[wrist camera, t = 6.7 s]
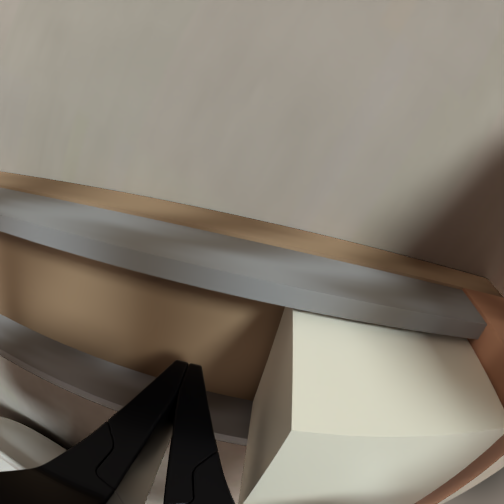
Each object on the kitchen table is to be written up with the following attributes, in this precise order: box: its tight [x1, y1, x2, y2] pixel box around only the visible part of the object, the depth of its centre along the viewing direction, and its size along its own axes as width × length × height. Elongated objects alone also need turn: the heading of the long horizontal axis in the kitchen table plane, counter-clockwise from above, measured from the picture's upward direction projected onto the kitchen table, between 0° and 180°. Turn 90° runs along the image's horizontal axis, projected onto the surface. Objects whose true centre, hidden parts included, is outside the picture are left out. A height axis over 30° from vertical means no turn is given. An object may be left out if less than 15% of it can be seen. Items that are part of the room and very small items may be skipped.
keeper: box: [238, 307, 504, 504], centre depth 8 cm, size 6×6×5 cm
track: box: [0, 172, 504, 504], centre depth 9 cm, size 24×8×6 cm, turn 79°
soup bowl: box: [0, 417, 67, 472], centre depth 21 cm, size 24×24×7 cm
